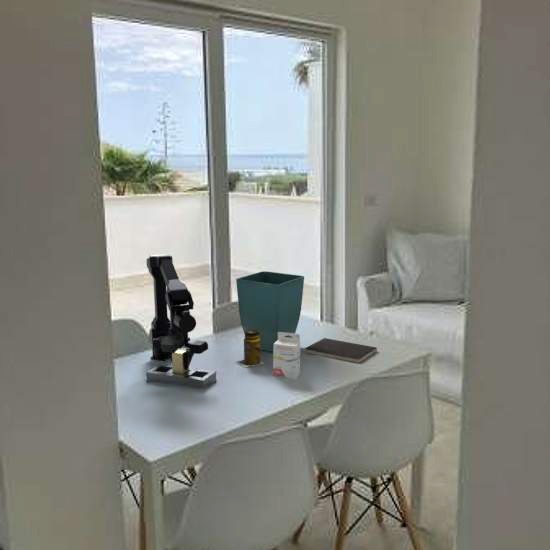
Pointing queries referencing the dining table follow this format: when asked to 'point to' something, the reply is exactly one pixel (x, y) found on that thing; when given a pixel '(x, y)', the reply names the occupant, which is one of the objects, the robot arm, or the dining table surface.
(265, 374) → the dining table surface
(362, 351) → the hardcover book
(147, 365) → the dining table surface
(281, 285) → the flower pot
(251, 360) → the condiment
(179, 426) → the dining table surface
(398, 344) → the dining table surface
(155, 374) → the gray socket block
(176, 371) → the brass peg
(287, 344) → the ink cartridge box
